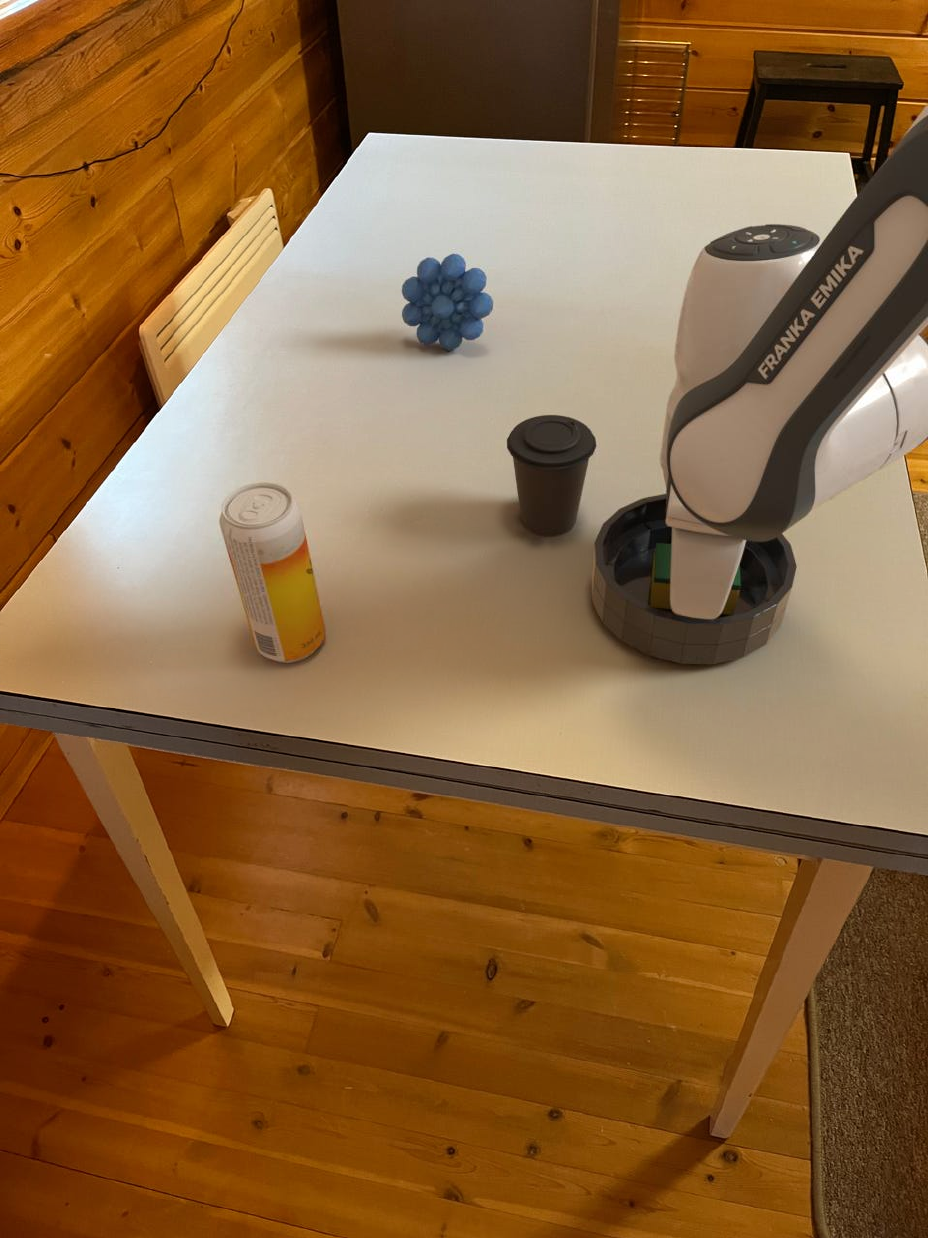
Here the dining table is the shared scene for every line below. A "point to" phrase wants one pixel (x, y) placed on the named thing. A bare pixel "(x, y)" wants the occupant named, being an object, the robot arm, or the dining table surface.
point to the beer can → (273, 570)
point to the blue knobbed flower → (446, 301)
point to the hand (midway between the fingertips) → (695, 579)
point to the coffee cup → (550, 471)
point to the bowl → (660, 631)
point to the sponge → (662, 581)
